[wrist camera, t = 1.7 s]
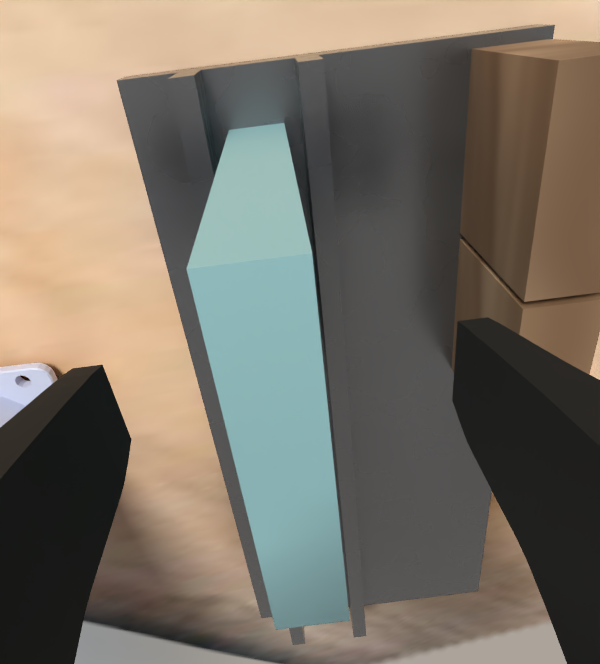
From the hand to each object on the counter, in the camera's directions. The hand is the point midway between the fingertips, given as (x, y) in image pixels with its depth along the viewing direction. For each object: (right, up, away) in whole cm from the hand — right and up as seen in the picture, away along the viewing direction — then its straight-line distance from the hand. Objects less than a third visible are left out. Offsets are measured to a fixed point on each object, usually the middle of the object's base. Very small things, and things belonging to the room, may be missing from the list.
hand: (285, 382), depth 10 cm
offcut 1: (+6, +6, +4) cm, 10 cm away
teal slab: (0, +3, +5) cm, 6 cm away
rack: (+2, -2, +10) cm, 10 cm away
